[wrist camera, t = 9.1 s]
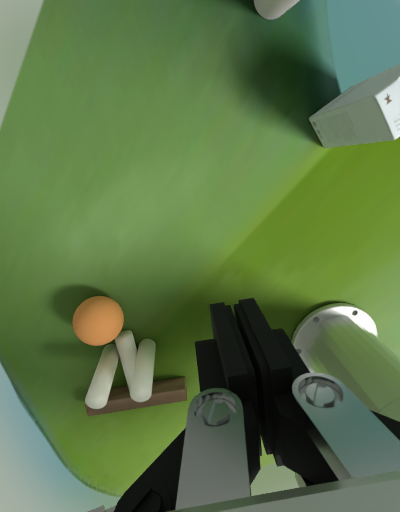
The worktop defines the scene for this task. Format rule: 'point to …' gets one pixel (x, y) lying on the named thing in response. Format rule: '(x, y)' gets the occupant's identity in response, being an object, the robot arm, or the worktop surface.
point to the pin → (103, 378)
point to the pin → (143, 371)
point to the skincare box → (362, 112)
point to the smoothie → (273, 7)
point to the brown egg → (98, 320)
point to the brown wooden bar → (160, 395)
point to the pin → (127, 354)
